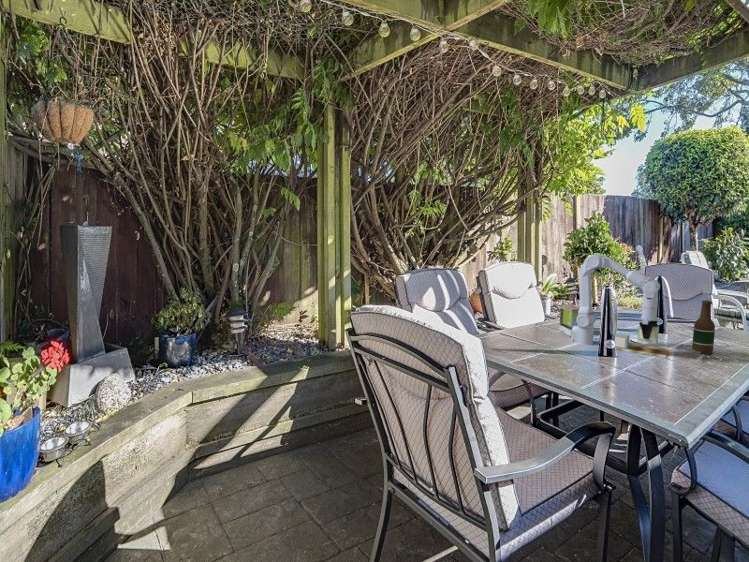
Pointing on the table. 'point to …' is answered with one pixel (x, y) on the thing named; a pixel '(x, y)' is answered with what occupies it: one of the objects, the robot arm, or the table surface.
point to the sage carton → (653, 335)
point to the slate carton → (622, 341)
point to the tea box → (568, 318)
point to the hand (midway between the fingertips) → (647, 337)
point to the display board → (647, 350)
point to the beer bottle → (704, 330)
